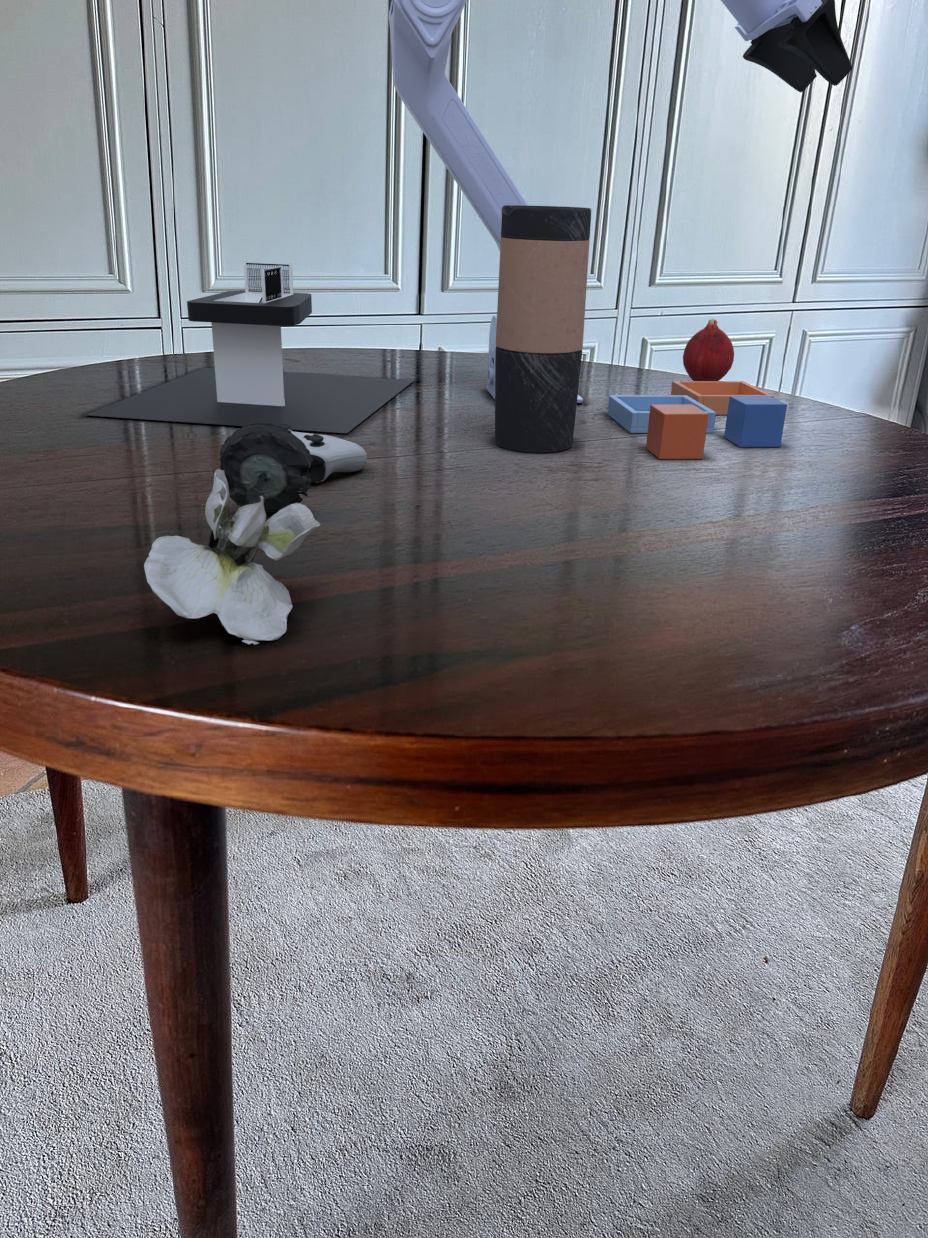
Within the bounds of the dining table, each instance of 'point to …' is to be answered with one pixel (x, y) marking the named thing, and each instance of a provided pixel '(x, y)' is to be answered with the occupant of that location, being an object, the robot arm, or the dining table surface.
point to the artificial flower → (241, 537)
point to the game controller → (330, 455)
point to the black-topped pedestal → (258, 369)
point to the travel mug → (540, 325)
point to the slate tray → (648, 410)
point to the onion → (708, 354)
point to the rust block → (676, 431)
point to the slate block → (755, 421)
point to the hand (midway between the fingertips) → (825, 80)
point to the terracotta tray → (715, 392)
